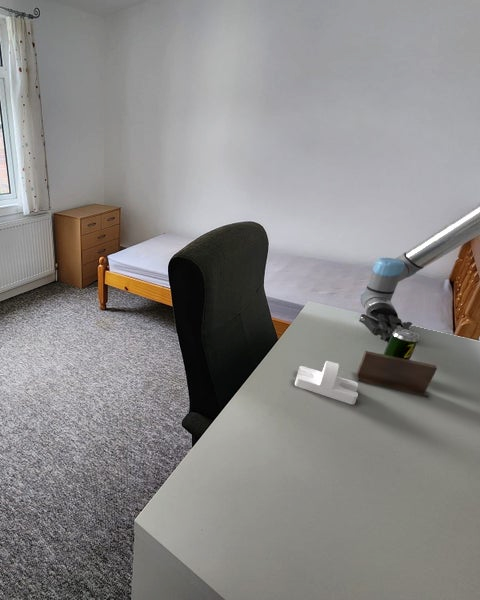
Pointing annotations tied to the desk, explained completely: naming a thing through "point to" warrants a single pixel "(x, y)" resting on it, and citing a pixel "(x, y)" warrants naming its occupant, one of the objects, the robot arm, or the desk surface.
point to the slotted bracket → (327, 383)
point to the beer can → (402, 344)
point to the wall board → (395, 373)
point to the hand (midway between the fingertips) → (395, 346)
